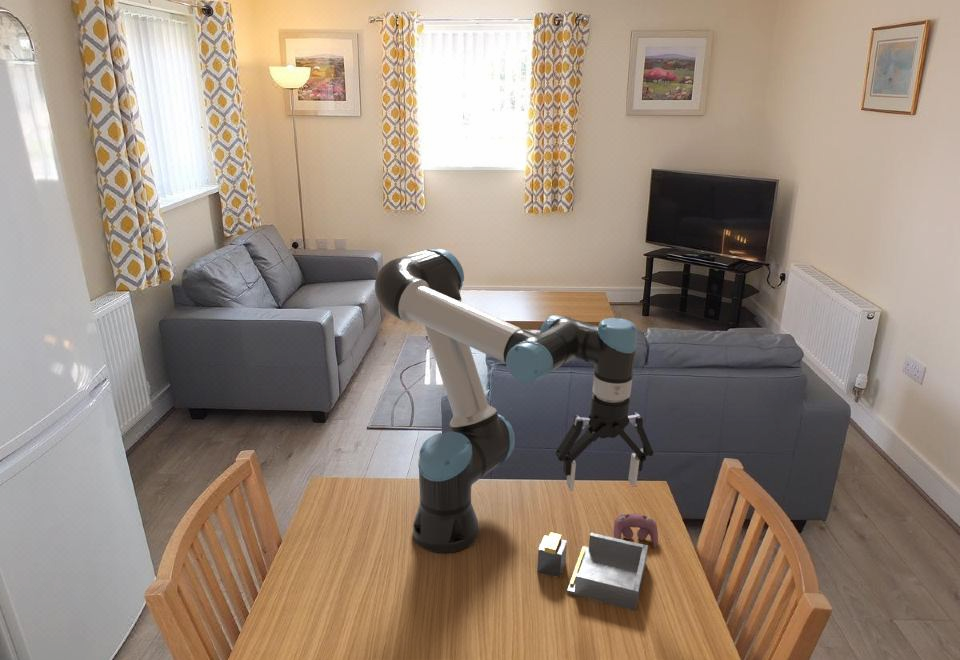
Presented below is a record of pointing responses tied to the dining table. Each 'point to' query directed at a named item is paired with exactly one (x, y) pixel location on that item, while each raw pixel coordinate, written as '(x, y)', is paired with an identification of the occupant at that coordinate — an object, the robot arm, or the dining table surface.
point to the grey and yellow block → (552, 555)
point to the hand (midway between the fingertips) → (601, 485)
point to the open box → (610, 571)
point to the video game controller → (639, 521)
